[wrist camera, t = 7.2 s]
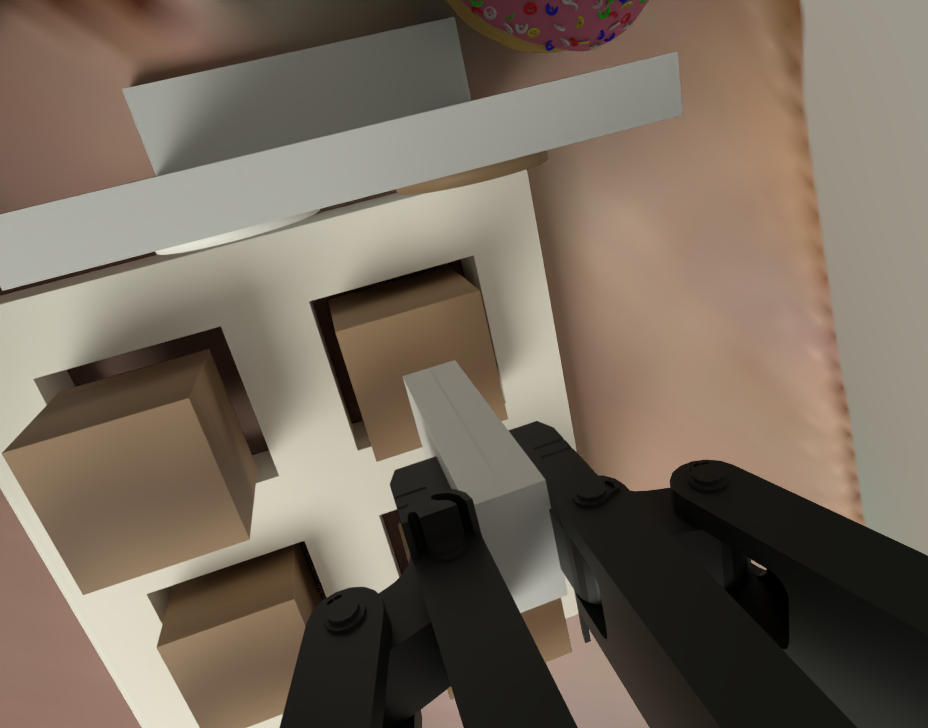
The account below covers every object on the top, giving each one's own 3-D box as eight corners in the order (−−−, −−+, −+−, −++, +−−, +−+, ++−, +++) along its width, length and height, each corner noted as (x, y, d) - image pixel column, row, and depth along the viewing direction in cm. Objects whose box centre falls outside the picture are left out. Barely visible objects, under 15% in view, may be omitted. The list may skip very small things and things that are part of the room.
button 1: (178, 567, 26) (156, 647, 22) (294, 528, 27) (293, 599, 22) (220, 653, 28) (207, 742, 24) (327, 614, 28) (333, 694, 24)
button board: (-52, 308, 21) (-94, 328, 19) (504, 164, 24) (526, 166, 22) (177, 720, 29) (167, 770, 26) (581, 570, 32) (603, 603, 30)
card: (128, 91, 21) (-145, 5, 8) (449, 20, 22) (660, -146, 9) (176, 215, 22) (16, 316, 9) (474, 141, 24) (685, 139, 11)
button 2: (60, 391, 21) (1, 453, 16) (209, 348, 21) (188, 397, 17) (122, 511, 22) (83, 595, 18) (257, 468, 23) (249, 539, 19)
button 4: (328, 299, 24) (335, 332, 20) (448, 265, 25) (479, 290, 21) (363, 410, 26) (376, 462, 22) (474, 376, 26) (508, 419, 22)
